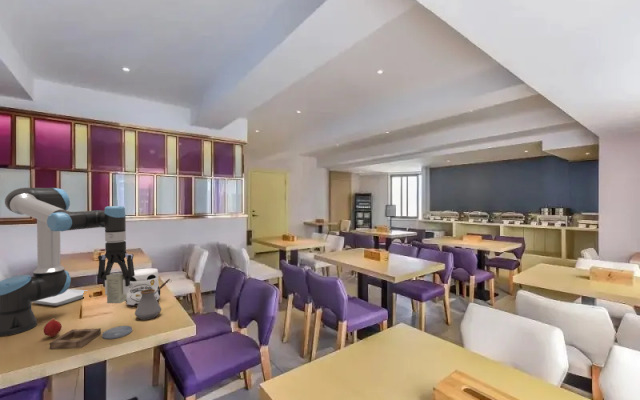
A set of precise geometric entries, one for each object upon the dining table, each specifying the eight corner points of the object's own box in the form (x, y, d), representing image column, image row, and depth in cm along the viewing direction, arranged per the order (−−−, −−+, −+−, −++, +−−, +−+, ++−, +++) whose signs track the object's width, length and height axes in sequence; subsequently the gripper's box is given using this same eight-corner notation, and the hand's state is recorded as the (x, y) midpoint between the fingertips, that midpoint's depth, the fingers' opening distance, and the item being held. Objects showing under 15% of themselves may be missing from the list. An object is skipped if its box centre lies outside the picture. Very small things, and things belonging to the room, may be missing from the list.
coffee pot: (148, 322, 146) (148, 291, 146) (129, 320, 149) (128, 289, 149) (179, 306, 167) (179, 279, 166) (161, 304, 169) (161, 277, 169)
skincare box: (127, 300, 136) (127, 273, 136) (119, 303, 132) (119, 275, 131) (113, 299, 137) (113, 272, 136) (105, 303, 132) (106, 275, 132)
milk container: (136, 310, 161) (135, 276, 161) (118, 305, 169) (117, 272, 169) (167, 301, 176) (166, 269, 176) (149, 296, 184) (148, 266, 184)
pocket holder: (49, 349, 121) (49, 342, 121) (71, 335, 133) (71, 329, 133) (81, 347, 122) (81, 341, 122) (100, 334, 134) (100, 328, 134)
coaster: (96, 339, 128) (96, 337, 128) (112, 328, 139) (111, 326, 139) (123, 338, 129) (123, 336, 129) (137, 327, 140) (137, 325, 140)
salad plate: (28, 305, 172) (28, 299, 172) (69, 293, 192) (69, 288, 192) (55, 309, 166) (55, 302, 166) (94, 296, 186) (94, 290, 186)
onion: (40, 341, 128) (40, 322, 128) (48, 335, 133) (48, 316, 133) (57, 339, 129) (56, 320, 129) (64, 333, 135) (64, 315, 135)
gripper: (86, 243, 129) (87, 297, 130) (134, 242, 131) (135, 295, 131) (97, 240, 137) (98, 291, 137) (143, 239, 138) (144, 290, 138)
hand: (116, 293), depth 134 cm, fingers closed on skincare box, 7 cm apart
